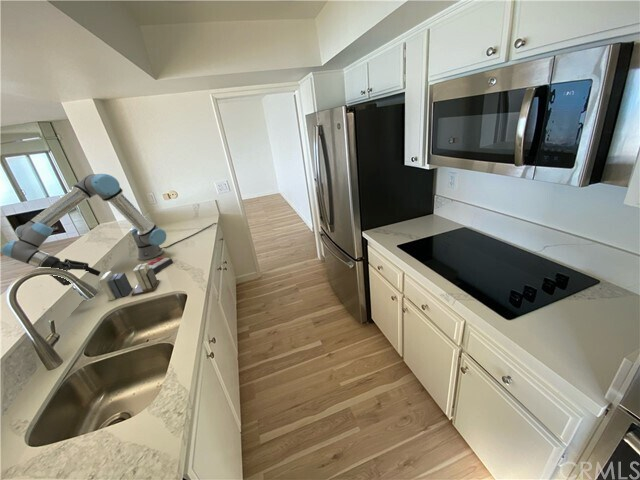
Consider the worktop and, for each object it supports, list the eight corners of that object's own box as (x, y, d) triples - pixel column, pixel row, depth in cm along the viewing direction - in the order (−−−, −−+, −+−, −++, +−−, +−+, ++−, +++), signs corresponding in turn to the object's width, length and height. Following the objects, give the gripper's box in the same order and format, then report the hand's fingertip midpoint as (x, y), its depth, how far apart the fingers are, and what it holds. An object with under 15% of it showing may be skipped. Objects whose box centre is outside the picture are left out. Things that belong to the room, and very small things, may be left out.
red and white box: (171, 257, 176) (152, 267, 163) (173, 263, 177) (155, 274, 164) (158, 257, 179) (139, 267, 166) (160, 262, 181) (141, 273, 167)
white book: (116, 291, 150) (106, 271, 145) (121, 290, 150) (111, 270, 145) (109, 300, 142) (99, 280, 137) (114, 299, 142) (103, 279, 137)
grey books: (121, 291, 150) (113, 274, 145) (132, 288, 151) (124, 272, 146) (116, 298, 143) (107, 281, 139) (127, 295, 145) (119, 278, 140)
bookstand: (139, 285, 153) (129, 265, 148) (159, 281, 155) (150, 260, 150) (132, 296, 143) (121, 274, 138) (154, 291, 146) (144, 269, 140)
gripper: (57, 257, 143) (101, 274, 152) (23, 279, 120) (77, 298, 130) (64, 246, 142) (107, 264, 151) (30, 267, 119) (84, 286, 128)
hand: (93, 280), depth 140 cm, fingers open, 13 cm apart
